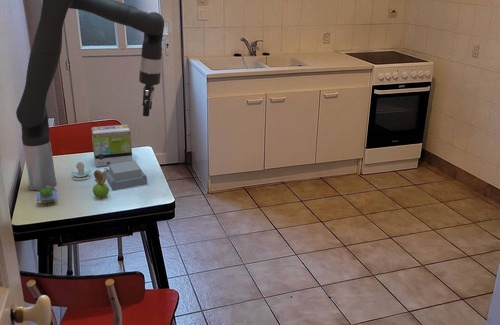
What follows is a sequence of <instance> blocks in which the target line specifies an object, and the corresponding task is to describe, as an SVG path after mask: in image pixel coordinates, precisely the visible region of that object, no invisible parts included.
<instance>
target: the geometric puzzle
mask: <svg viewBox="0 0 500 325" xmlns="http://www.w3.org/2000/svg"><path fill="white" fill-rule="evenodd" d="M44 186H45V185H44ZM44 186H43V187H44ZM35 196H36V197H35V198H36V202H37V203H40V204H42V205H44V206H49V203H50V205H51V204H53V203H54V202H55V201H56V200H57V199H58V193H57V189H56V187H55V186H54V187H52V186H49V185H46V189H39V190H37V191H36V193H35ZM39 201H40V202H39ZM44 203H46V204H44Z"/></svg>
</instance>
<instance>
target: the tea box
mask: <svg viewBox="0 0 500 325" xmlns="http://www.w3.org/2000/svg"><path fill="white" fill-rule="evenodd" d="M90 129H91V139H92V140H91V141H92V149H93V159H94V160H93V161H94V163H95V166H96V168H98V167H105V166H109V164H114V163H121V162H127V161H133V148H132V134H131V132H132V131H131V129H130V128H129V125H128V124H115V125H105V126H104V125H103V126H92V127H91V128H90Z"/></svg>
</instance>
